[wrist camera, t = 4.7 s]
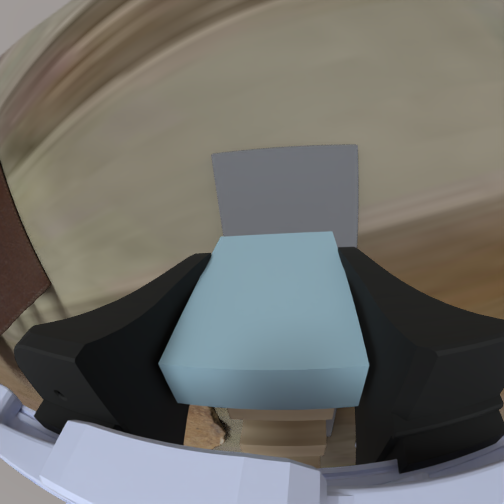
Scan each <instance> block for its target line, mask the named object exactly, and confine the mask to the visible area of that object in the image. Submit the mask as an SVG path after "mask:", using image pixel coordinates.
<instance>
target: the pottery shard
mask: <svg viewBox="0 0 504 504" xmlns="http://www.w3.org/2000/svg"><path fill="white" fill-rule="evenodd" d="M225 433H226V430H225V429H224V427H223V425H222V424H221V423H220V421H219V419H218V415H217V414H216V413H215V411H214V409H213V407H209V406H199V405H190V406H189V411H188V417H187V423H186V430H185V437H184V446H190V447H196V448H203V449H211V450H212V449H214V448H215V447H216V446H219V445H221V444H223V443H224V441H225V437H224V436H225Z"/></svg>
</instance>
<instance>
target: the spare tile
mask: <svg viewBox="0 0 504 504" xmlns="http://www.w3.org/2000/svg"><path fill="white" fill-rule="evenodd" d="M158 364H159V366H160V369H161V371H162V373H163V375H164V377H165V379H166V381H167V383H168V385H169V387H170V389H171V391H172V393H173V395H174V397H175V399H176V401H177V403H182V404H190V405H199V406H209V407H221V408H235V409H256V410H308V409H329V408H343V407H354V406H358V405H359V401H360V398H361V394H362V391H363V387H364V384H365V380H366V376H367V372H368V368H369V362H368V358H367V353H366V349H365V345H364V341H363V336H362V332H361V328H360V324H359V320H358V317H357V313H356V309H355V305H354V302H353V298H352V294H351V291H350V287H349V284H348V280H347V277H346V273H345V270H344V268H343V266H342V263H341V260H340V257H339V254H338V247H337V244H336V241H335V238H334V235H333V232H332V231H327V232H304V233H282V234H262V235H243V236H225V237H220V239H219V241H218V243H217V245H216V247H215V249H214V251H213V253H212V255H211V258H210V260H209V262H208V264H207V266H206V268H205V270H204V272H203V273H202V275H201V276H200V278H199V280H198V282H197V284H196V286H195V288H194V290H193V292H192V294H191V296H190V298H189V300H188V303H187V305H186V307H185V309H184V311H183V313H182V315H181V317H180V319H179V321H178V323H177V325H176V327H175V329H174V331H173V334H172V336H171V338H170V340H169V342H168V344H167V346H166V348H165V350H164V353H163V355H162V357H161V359H160V361H159V363H158Z"/></svg>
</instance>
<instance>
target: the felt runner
mask: <svg viewBox="0 0 504 504" xmlns="http://www.w3.org/2000/svg"><path fill="white" fill-rule="evenodd" d="M211 156H212V163H213V170H214V177H215V184H216V190H217V197H218V204H219V210H220V217H221V223H222V229H223V236H224V237H225V236H243V235H262V234H282V233H304V232H327V231H332V232H333V235H334V238H335V241H336V244H337V247H356V248H357V232H358V146H357V145H312V146H291V147H276V148H263V149H252V150H241V151H232V152H223V153H215V154H212V155H211ZM336 409H337V408H334V412H333V417H332V419H328V420H326V436H331V432H332V428H333V424H334V419H335V414H336Z"/></svg>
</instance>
